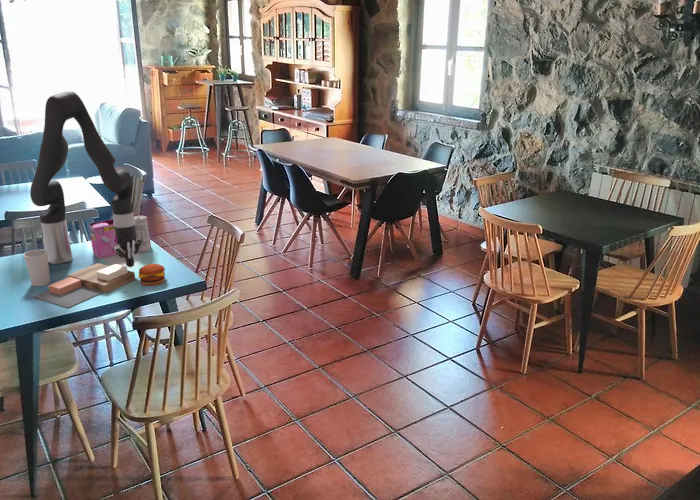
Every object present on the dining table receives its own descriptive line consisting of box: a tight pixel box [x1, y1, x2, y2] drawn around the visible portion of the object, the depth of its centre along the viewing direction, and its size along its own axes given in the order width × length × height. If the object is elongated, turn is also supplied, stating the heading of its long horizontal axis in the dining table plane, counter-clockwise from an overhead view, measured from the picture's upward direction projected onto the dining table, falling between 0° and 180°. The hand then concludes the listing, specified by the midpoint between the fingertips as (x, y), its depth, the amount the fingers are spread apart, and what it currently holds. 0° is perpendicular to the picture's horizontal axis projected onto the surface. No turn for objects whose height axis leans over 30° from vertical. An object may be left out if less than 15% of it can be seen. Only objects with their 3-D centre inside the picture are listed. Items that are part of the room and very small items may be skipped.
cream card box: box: [96, 263, 128, 281], centre depth 225 cm, size 6×9×2 cm, turn 152°
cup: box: [22, 248, 51, 287], centre depth 224 cm, size 8×8×12 cm
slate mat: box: [32, 286, 105, 309], centre depth 216 cm, size 19×15×1 cm
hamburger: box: [138, 263, 166, 287], centre depth 226 cm, size 9×10×7 cm
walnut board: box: [67, 262, 136, 294], centre depth 227 cm, size 20×14×3 cm
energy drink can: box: [134, 215, 151, 254], centre depth 255 cm, size 6×6×15 cm
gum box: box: [88, 213, 152, 259], centre depth 257 cm, size 24×8×14 cm, turn 129°
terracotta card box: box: [47, 277, 82, 295], centre depth 220 cm, size 6×9×2 cm, turn 151°
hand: (130, 266), depth 232 cm, fingers closed
